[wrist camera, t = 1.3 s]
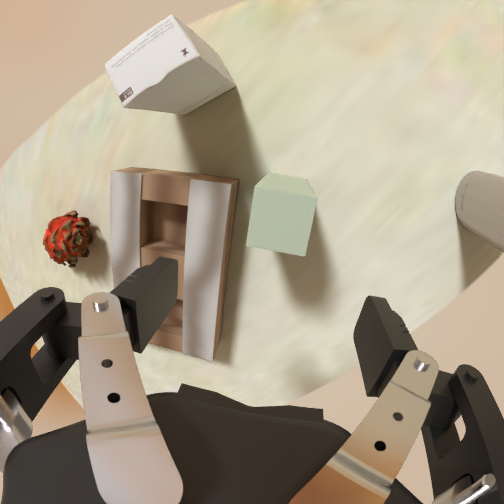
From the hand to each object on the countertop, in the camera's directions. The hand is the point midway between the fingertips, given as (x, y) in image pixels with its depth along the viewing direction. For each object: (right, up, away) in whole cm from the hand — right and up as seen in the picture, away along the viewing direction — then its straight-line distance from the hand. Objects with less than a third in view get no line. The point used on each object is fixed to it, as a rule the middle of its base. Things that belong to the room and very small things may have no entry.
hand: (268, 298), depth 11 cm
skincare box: (-7, +24, +20) cm, 32 cm away
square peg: (+3, +9, +24) cm, 26 cm away
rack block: (-12, +1, +30) cm, 32 cm away
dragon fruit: (-30, +5, +31) cm, 44 cm away
